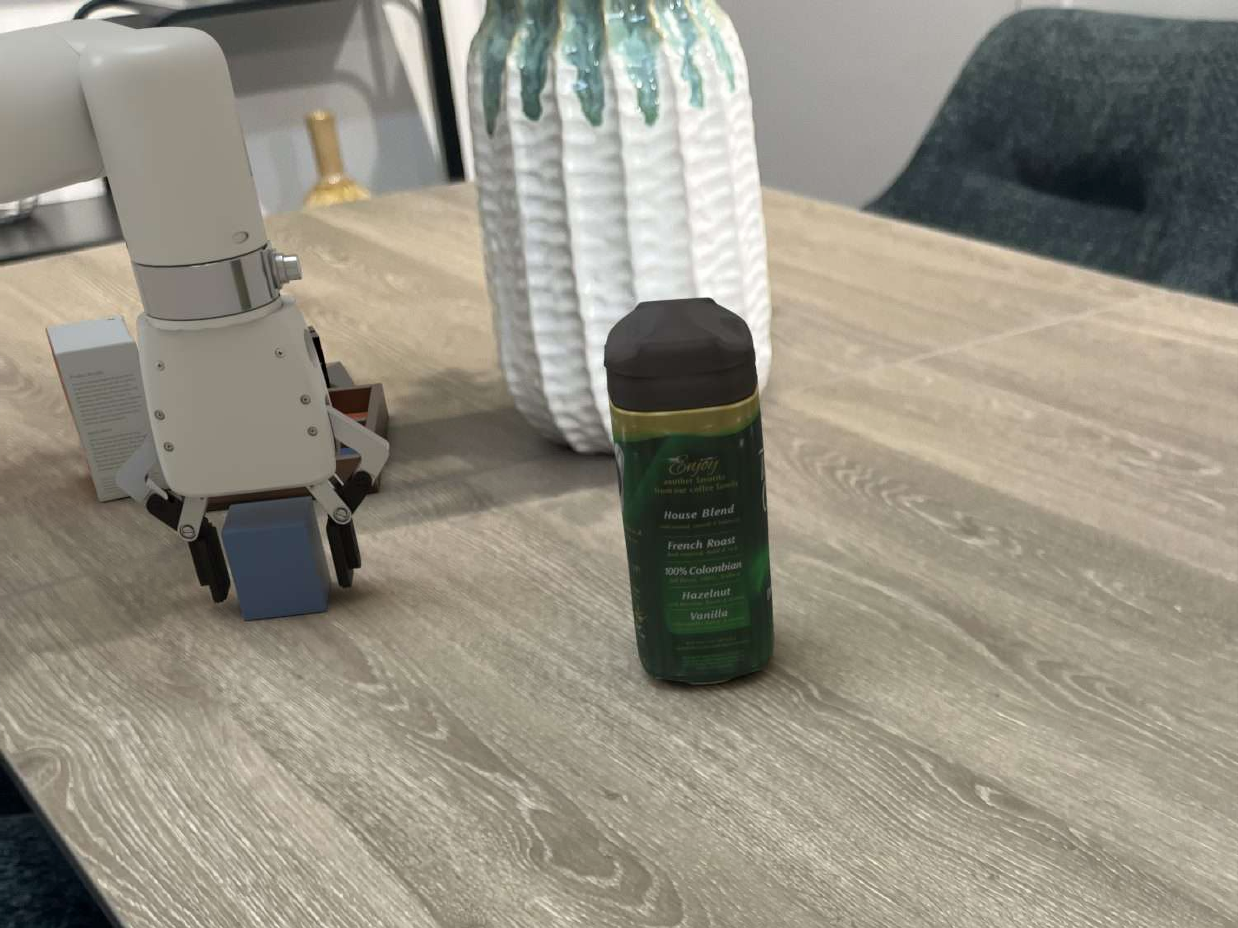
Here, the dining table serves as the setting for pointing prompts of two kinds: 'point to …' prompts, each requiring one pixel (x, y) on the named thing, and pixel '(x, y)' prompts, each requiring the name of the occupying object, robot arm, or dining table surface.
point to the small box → (104, 396)
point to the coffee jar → (692, 488)
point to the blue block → (276, 558)
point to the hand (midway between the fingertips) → (284, 585)
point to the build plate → (330, 366)
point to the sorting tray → (364, 409)
